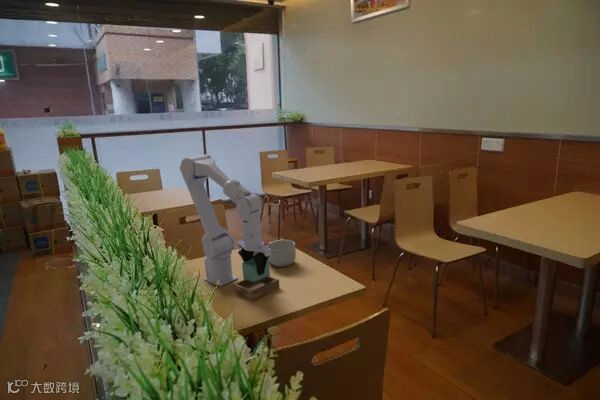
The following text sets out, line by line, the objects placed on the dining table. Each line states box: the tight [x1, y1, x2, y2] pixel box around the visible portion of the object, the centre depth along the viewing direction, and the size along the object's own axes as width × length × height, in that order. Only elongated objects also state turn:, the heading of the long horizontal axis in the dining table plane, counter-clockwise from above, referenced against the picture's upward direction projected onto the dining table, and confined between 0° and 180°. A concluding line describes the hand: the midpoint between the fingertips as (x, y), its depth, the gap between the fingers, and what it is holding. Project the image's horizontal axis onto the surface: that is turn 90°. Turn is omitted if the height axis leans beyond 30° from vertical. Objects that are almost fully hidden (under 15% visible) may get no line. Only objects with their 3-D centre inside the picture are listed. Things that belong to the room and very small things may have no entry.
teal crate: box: [241, 258, 271, 283], centre depth 131 cm, size 5×7×6 cm
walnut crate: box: [232, 275, 280, 302], centre depth 132 cm, size 9×11×3 cm
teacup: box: [266, 238, 297, 268], centre depth 154 cm, size 14×11×8 cm
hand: (255, 272), depth 131 cm, fingers closed on teal crate, 5 cm apart
